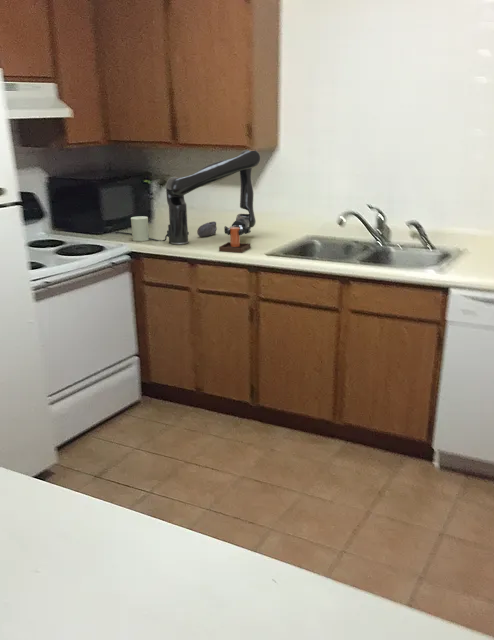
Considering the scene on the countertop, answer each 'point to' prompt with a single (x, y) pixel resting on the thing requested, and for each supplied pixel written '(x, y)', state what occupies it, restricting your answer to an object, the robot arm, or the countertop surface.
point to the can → (140, 228)
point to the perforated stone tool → (207, 229)
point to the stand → (235, 248)
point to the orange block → (234, 237)
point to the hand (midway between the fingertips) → (233, 233)
